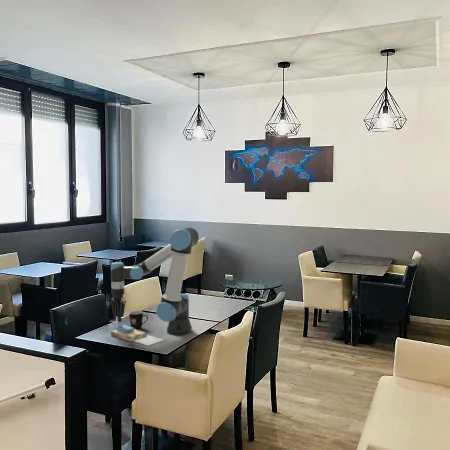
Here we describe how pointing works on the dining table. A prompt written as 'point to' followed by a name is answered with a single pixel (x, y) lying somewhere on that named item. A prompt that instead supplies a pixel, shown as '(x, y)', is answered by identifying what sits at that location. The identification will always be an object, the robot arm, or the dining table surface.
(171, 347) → the dining table surface
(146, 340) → the mat
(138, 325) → the coffee mug
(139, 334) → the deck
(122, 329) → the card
